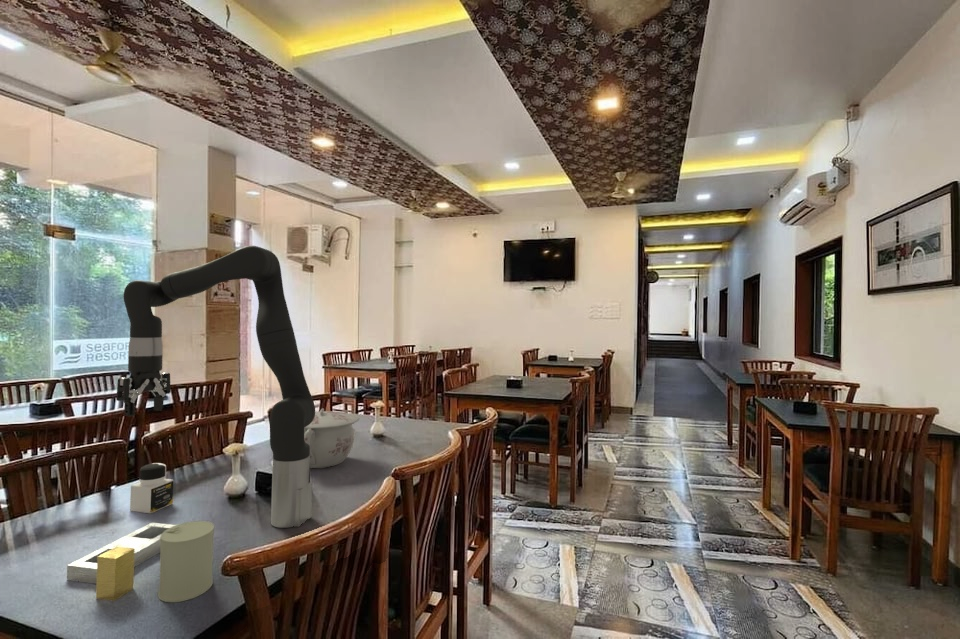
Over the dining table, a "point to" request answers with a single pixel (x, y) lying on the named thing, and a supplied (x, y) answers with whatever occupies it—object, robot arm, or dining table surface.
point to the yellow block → (115, 573)
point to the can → (186, 561)
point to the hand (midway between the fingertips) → (144, 413)
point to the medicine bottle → (151, 489)
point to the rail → (141, 540)
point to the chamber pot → (330, 437)
